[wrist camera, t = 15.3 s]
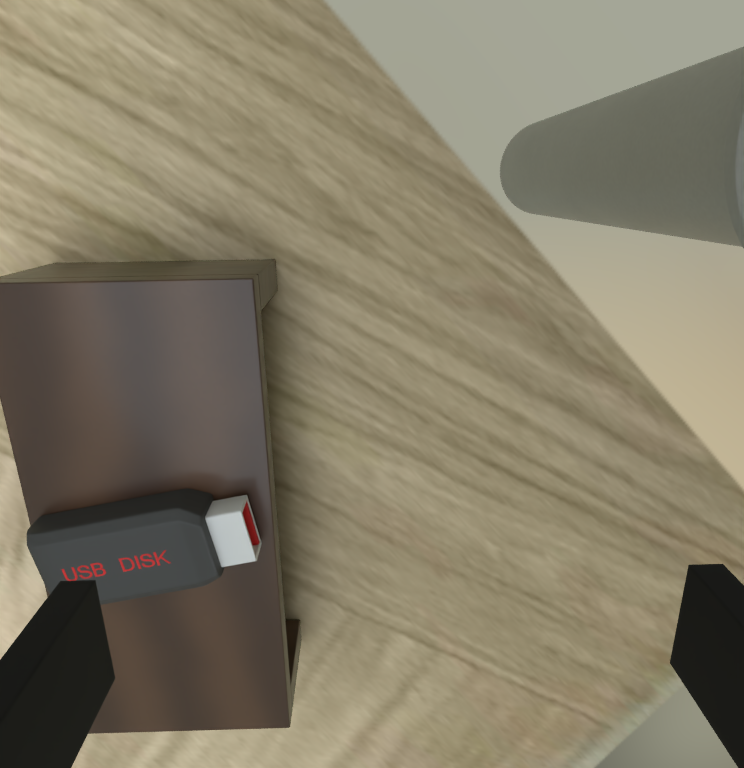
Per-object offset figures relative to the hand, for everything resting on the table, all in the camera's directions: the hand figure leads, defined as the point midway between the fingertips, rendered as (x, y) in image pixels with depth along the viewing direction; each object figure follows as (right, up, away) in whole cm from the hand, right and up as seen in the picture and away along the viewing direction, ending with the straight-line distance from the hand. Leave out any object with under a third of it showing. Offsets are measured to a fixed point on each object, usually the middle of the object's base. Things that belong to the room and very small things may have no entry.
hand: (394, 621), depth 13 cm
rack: (-13, -1, +28) cm, 31 cm away
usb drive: (-13, -3, +21) cm, 25 cm away
